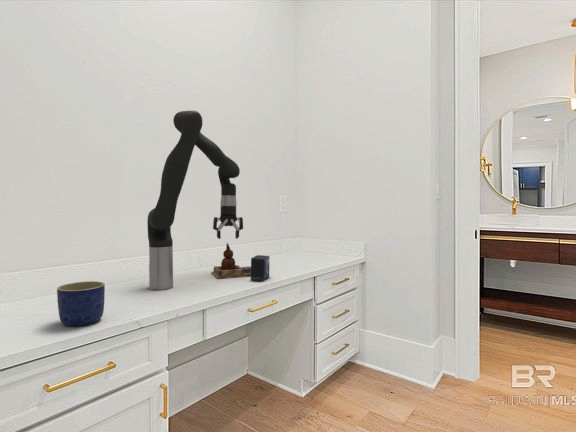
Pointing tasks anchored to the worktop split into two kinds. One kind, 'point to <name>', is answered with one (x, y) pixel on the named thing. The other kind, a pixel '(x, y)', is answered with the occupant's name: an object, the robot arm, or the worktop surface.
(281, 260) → the worktop surface
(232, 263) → the wooden figurine
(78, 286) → the planter
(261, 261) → the small box
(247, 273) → the wooden tray
